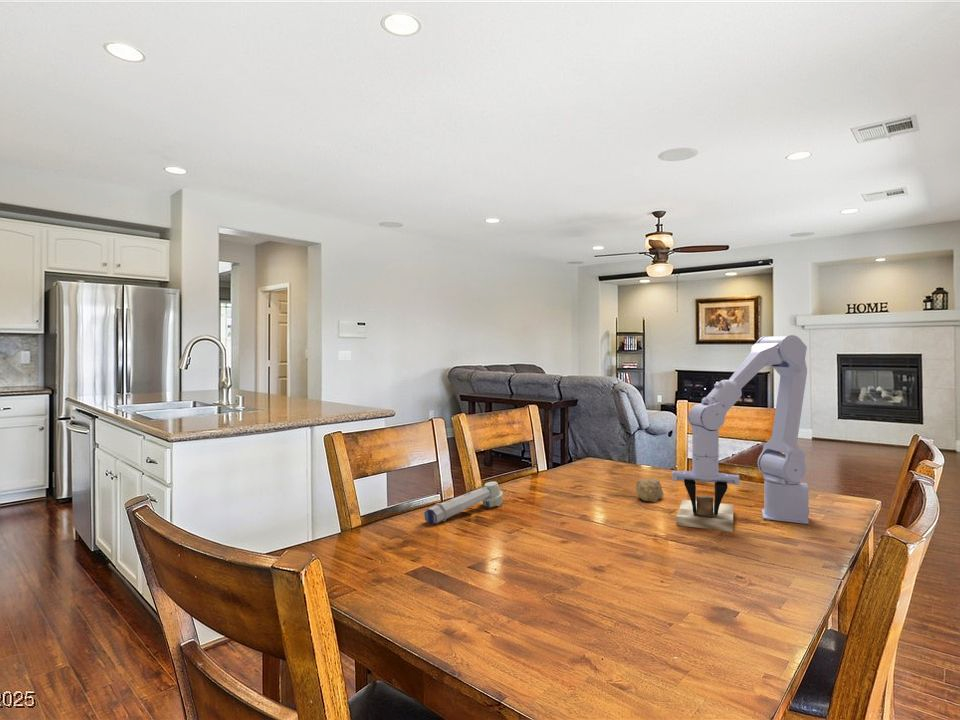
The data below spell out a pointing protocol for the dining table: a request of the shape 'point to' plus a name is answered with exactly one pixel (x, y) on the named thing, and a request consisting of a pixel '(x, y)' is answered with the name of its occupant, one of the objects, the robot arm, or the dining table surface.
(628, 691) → the dining table surface
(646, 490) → the stone tool
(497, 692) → the dining table surface
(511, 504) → the dining table surface
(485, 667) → the dining table surface
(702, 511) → the peg
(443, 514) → the grey mallet
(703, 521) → the board
